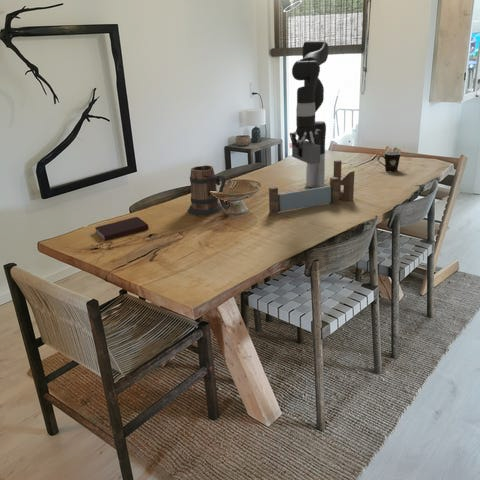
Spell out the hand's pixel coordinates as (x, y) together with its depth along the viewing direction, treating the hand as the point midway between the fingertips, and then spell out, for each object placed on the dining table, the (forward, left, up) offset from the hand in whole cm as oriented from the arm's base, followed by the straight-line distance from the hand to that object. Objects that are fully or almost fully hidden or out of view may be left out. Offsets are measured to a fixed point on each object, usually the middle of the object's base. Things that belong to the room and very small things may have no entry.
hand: (305, 156), depth 197 cm
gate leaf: (-11, +5, -26) cm, 29 cm away
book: (-22, -76, -28) cm, 84 cm away
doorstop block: (0, 0, -2) cm, 2 cm away
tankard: (-29, -34, -27) cm, 52 cm away
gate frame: (-11, +6, -27) cm, 30 cm away
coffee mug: (-47, +79, -27) cm, 96 cm away
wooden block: (-15, +28, -27) cm, 42 cm away
